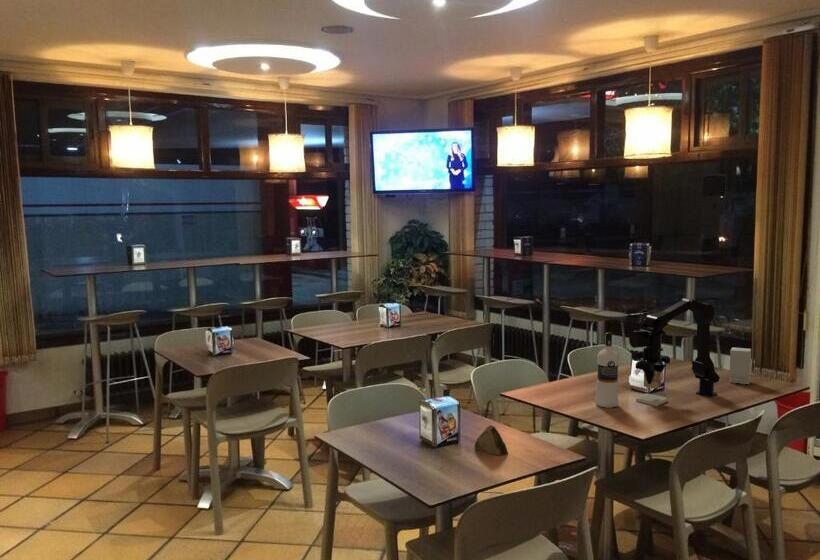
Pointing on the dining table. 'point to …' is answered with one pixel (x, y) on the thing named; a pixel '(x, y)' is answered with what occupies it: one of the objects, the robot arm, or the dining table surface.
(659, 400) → the trivet
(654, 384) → the oak block
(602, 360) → the vodka
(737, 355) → the skincare box
